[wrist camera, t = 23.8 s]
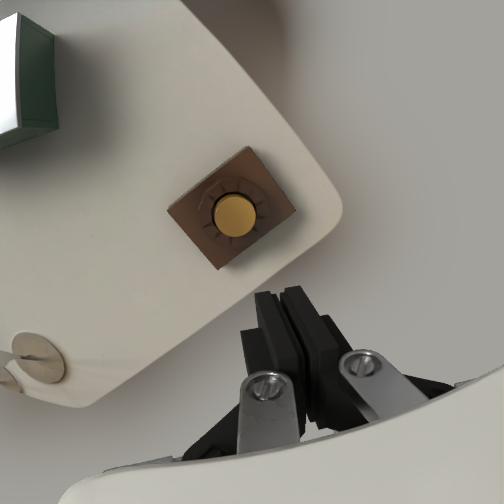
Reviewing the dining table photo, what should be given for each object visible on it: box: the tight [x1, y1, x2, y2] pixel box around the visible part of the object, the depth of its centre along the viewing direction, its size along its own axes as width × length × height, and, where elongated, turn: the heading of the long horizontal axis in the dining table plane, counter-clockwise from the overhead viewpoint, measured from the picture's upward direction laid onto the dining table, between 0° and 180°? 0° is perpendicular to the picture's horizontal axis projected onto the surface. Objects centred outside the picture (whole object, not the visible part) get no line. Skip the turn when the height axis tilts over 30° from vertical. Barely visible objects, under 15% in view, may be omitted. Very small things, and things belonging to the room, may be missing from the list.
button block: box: [167, 146, 296, 270], centre depth 32 cm, size 10×8×4 cm
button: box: [214, 194, 256, 237], centre depth 29 cm, size 4×4×2 cm
